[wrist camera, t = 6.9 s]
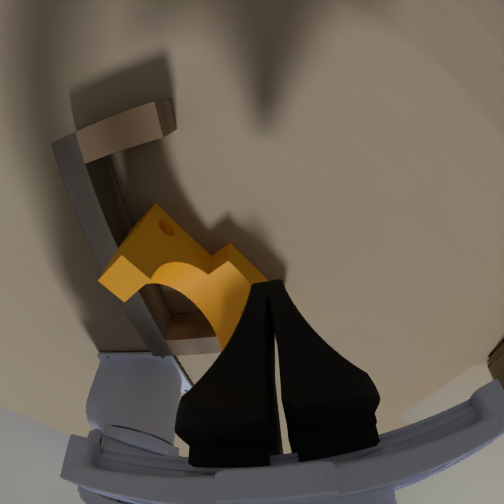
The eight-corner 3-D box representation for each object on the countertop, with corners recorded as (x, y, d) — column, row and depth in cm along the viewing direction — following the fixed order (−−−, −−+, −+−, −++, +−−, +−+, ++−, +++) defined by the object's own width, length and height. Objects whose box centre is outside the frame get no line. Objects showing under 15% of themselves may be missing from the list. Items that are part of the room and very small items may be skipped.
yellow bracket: (283, 293, 23) (293, 358, 17) (242, 318, 24) (243, 381, 19) (173, 185, 18) (142, 233, 12) (134, 224, 19) (97, 280, 14)
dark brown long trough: (160, 331, 25) (153, 356, 22) (75, 133, 15) (51, 143, 12) (232, 324, 24) (232, 351, 22) (169, 98, 14) (154, 101, 12)
